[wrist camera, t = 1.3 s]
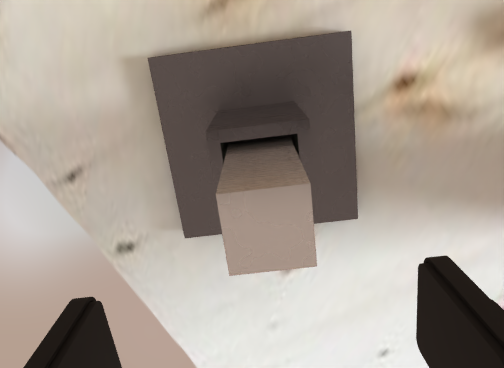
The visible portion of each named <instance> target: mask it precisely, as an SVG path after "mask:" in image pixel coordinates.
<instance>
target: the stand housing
mask: <svg viewBox="0 0 504 368" xmlns="http://www.w3.org/2000/svg"><path fill="white" fill-rule="evenodd" d="M148 62H149V66H150V71H151V76H152V81H153V86H154V91H155V96H156V100H157V105H158V110H159V115H160V120H161V125H162V130H163V134H164V139H165V144H166V149H167V154H168V159H169V164H170V168H171V173H172V178H173V183H174V188H175V193H176V198H177V202H178V207H179V212H180V217H181V222H182V227H183V231H184V236H185V238H191V237H200V236H209V235H218V234H222V229H221V223H220V217H219V211H218V205H217V199H216V192H217V188H218V184H219V180H220V176H221V172H222V168H223V164H224V160H225V156H226V152H227V148H228V144H229V142H232V141H240V140H248V139H257V138H265V137H273V136H281V135H289V136H290V138H291V140H292V143H293V145H294V147H295V150H296V152H297V154H298V156H299V159H300V161H301V163H302V165H303V168H304V170H305V172H306V174H307V177H308V179H309V181H310V183H311V196H312V209H313V222H314V224H315V223H324V222H333V221H341V220H350V219H358V209H357V181H356V152H355V124H354V96H353V67H352V39H351V31H346V32H338V33H331V34H323V35H316V36H308V37H301V38H293V39H286V40H278V41H271V42H263V43H256V44H248V45H241V46H233V47H226V48H218V49H211V50H203V51H196V52H189V53H181V54H174V55H166V56H159V57H151V58H148Z"/></svg>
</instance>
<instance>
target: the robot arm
mask: <svg viewBox="0 0 504 368" xmlns="http://www.w3.org/2000/svg"><path fill="white" fill-rule="evenodd" d="M416 339H417V344H418V348H419V350H420V352H421V354H422V356H423V358H424V359H425V361H426V363H427V364H428V366H429V368H504V310H503V309H502V308H501V307H500V306H499V305H498V304H497V303H496V302H494V301H493V300H491V299H490V298H489V297H488V296H487V295H486V294H485V293H484V292H483V291H482V290H481V289H480V288H479V287H478V286H477V285H476V284H475V283H474V282H473V281H472V280H471V279H470V278H469V277H468V276H467V275H466V274H465V273H464V272H463V271H462V270H461V269H460V268H459V267H458V266H457V265H456V264H455V263H454V262H453V261H452V260H451V259H450V258H449V257H448V256H438V257H429V258H426V259H425V260H424V263H422V264H419V266H418V295H417V333H416ZM24 368H122V367H121V363H120V360H119V357H118V354H117V350H116V347H115V344H114V341H113V337H112V334H111V331H110V328H109V325H108V321H107V318H106V315H105V312H104V309H103V305H102V303H101V302H100V301H96V299H95V298H94V297H85V298H78V299H77V298H76V299H72V300H71V301H70V302H69V304H68V305H67V306H66V308H65V309H64V311H63V312H62V314H61V315H60V316H59V318H58V319H57V321H56V322H55V324H54V325H53V326H52V328H51V329H50V331H49V332H48V333H47V335H46V336H45V338H44V339H43V341H42V342H41V343H40V345H39V347H38V348H37V349H36V351H35V352H34V353H33V355H32V356H31V358H30V359H29V361H28V362H27V363H26V365H25V366H24Z"/></svg>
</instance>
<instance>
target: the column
mask: <svg viewBox="0 0 504 368" xmlns="http://www.w3.org/2000/svg"><path fill="white" fill-rule="evenodd" d="M216 199H217V205H218V211H219V217H220V223H221V229H222V235H223V241H224V247H225V253H226V259H227V264H228V270H229V276H232V275H241V274H250V273H260V272H269V271H278V270H287V269H296V268H306V267H315V266H317V260H316V247H315V235H314V222H313V209H312V196H311V183H310V181H309V179H308V177H307V174H306V172H305V170H304V168H303V165H302V163H301V161H300V159H299V156H298V154H297V152H296V150H295V147H294V145H293V143H292V140H291V138H290V136H289V135H281V136H273V137H265V138H257V139H248V140H240V141H232V142H229V144H228V148H227V152H226V156H225V160H224V164H223V168H222V172H221V176H220V180H219V184H218V188H217V192H216Z"/></svg>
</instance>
